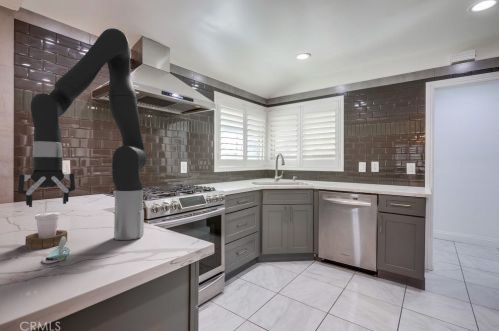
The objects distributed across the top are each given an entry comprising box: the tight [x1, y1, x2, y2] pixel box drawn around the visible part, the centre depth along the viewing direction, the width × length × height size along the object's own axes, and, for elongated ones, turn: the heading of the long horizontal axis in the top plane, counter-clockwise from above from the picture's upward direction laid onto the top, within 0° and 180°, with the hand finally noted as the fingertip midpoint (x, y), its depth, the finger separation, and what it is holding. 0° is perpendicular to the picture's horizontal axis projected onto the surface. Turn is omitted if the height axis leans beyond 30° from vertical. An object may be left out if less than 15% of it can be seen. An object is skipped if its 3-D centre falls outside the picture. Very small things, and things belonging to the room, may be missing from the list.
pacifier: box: [41, 236, 71, 264], centre depth 65 cm, size 7×6×6 cm
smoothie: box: [34, 200, 61, 238], centre depth 78 cm, size 6×6×14 cm
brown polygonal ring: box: [24, 229, 68, 250], centre depth 78 cm, size 10×10×3 cm
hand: (48, 205), depth 78 cm, fingers open, 8 cm apart
